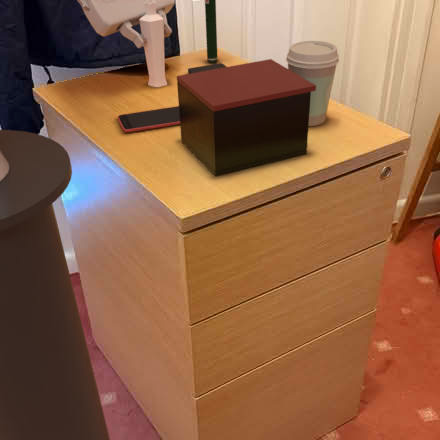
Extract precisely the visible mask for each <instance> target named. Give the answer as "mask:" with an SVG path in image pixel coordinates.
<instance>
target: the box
mask: <svg viewBox="0 0 440 440" xmlns="http://www.w3.org/2000/svg"><path fill="white" fill-rule="evenodd" d="M176 83H177V84H176V85H177V99H178V106H179V114H180V124H179V127H180V137H181V138H180V141H181V142H182V144H183V145H185V146H186V148H187V149H188V150H189V151H190V152H191V153H192V154H193V155H194V156H195V157H196V158H197V159H198V160H199V161H200V162H201V163H202V164H203V165H204V166H205V167H206V168H207V170H209V171H210V172H211V173H212V175H214V176H215V177H218V176H219V177H220V176H224V175H227V174H231V173H235V172H238V171H239V172H240V171H243V170H247V169H251V168H255V167H260V166H264V165H267V164H271V163H275V162H279V161H284V160H289V159H292V158H296V157H300V156H305V155H307V152H308V150H307V148H308V137H309V126H308V125H309V112H310V98H311V92H307V93H302V94H297V95H293V96H288V97H283V98H278V99H273V100H268V101H263V102H258V103H253V104H249V105H244V106H239V107H234V108H229V109H224V110H219V111H214V112H213V111H212V110H211V109H210V108H208V107H207V106H206V105H205V104H204V103H202V102H201V101H200V100H199V99H198V98H197V97H195V96H194V95H193V94H192V93H191V92H189V91H188V90H187V89H186V88H185V87H183V86H182V85H181V84H180V83H179V82H178V81H176Z"/></svg>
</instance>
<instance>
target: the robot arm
mask: <svg viewBox="0 0 440 440" xmlns="http://www.w3.org/2000/svg"><path fill="white" fill-rule="evenodd" d="M76 1H77V2H78V3H79V5H80V6H81V9H82V11H83V13H84V15H85V17H86V18H87V20H88V22H89V24H90V26H91V27H92V28H93V30H94V31H95V33H96V34H98V35H99V36H101V37H103V38H104V37H105V38H106V37H107V36H110V35H113V34H116V33H118V32H120V34H121V35H122V36H123V37H124V38H126V39H127V40H130V41H131V42H133V44H134V45H135V46H136V48H137V49H141V48H144V46H145V44H146V43H147V39H146V38H145V37H144V35H143V34H142V33H139V32H137V31H136V30H135V29H133V28H132V27H134V26H137V25H140V22H139V19H140V18H142V17H143V16H144V15H145V14H146V7H145V2H146V1H155V2H156V3H155V6H156V13H157V14H159V15H161V16H162V17H163V19H164V39H165V38H167V37H170V36H171V34H172V33H173V30H172V28H171V27H170V25H169V24H168V20H167V14H168V13H169V12H170V11H171V10H172V8H173V7H174V5H175V4H176V1H175V0H76ZM8 171H9V163H8V162H7V160H6V159H5V157H4V156H3V154H2V152H1V151H0V181H1V180H2V179H3V178H4V177H5V176H6V175H7V173H8Z"/></svg>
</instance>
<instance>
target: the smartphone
mask: <svg viewBox="0 0 440 440" xmlns="http://www.w3.org/2000/svg"><path fill="white" fill-rule="evenodd" d="M117 121H118V123H119V126H120V128H121V130H122V131H123V132H124V133H131V132H133V133H134V132H139V131H144V130H151V129H158V128H164V127H170V126H177V125H180V114H179V105H177V106H170V107H163V108H157V109H150V110H149V109H148V110H144V111H137V112H131V113H123V114H119V115H118V116H117Z"/></svg>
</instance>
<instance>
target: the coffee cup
mask: <svg viewBox="0 0 440 440" xmlns="http://www.w3.org/2000/svg"><path fill="white" fill-rule="evenodd" d="M285 58H286V59H285V61H286V63H287V69H289V70H290V71H292V72H294V73H296V74H297V75H299V76H301V77H302V78H304V79H306V80H308V81H309V82H311V83H313V84H314V85H316V91H312V92H311V98H310V112H309V125H308V127H315V126H320V125H321V124H324V122H325V121H326V116H327V113H328V107H329V103H330V98H331V95H332V94H331V93H332V88H333V83H334V79H335V73H336V69H337V66H338V63H340V59H339V58H340V55H339V53H338V48H337V46H336V44H333V43H331V42H328V41H323V40H302V41H298V42H295V43H293V44H291V45H290V47H289V50H288V53H287V54H286V57H285Z"/></svg>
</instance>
